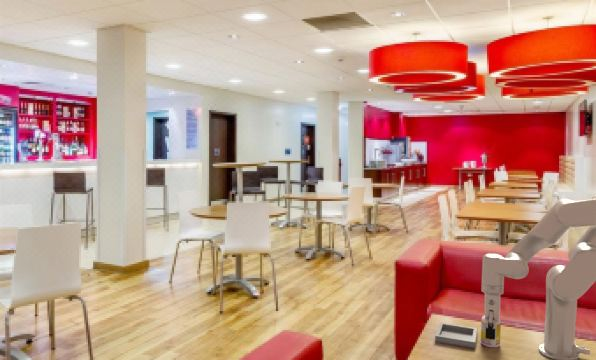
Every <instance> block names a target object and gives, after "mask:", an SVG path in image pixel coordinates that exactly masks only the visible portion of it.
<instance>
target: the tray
mask: <svg viewBox="0 0 596 360" xmlns="http://www.w3.org/2000/svg"><path fill="white" fill-rule="evenodd" d="M434 337H435V339H434V343H437V344H444V345H450V346H456V347H461V348H467V349H472V350H473V349H476V345H477V344H476V343H477V338H478V327H471V326H465V325H459V324H452V323H446V322H439V325H438V328H437V330H436V333H435V336H434Z"/></svg>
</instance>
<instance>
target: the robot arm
mask: <svg viewBox="0 0 596 360" xmlns="http://www.w3.org/2000/svg"><path fill="white" fill-rule="evenodd" d="M576 227H577V228H579V227H588V228H587V229H586V231H585V233H583V235H582V236H581V237H580V238H579V239H578V240H577V242H575V244H574V245H572V247H571V248H570V249H569V251H568V253H567V257H568V261H569V262H567V264H566V265H564V264H557V265H554V266H552V267H551V268H549V270H548V272H547V273H546V278H545V289H546V291H545V316H544V318H545V319H544V335H543V337H544V338H543V343H541V344H539V346H538V351H539V352H540V353H541V354H542V355H543V356H545V357H547V358H549V359H552V360H579V359H580V354H583V355H587V356H589V355H591V349H590V348H586V346H584V345H578V344H576V323H577V311H578V299H580V298H581V297H582V296H583V295H584V294H585V293H587V291H588V290H589V289H590V288H591V286H593V285H594V284H595V283H596V194H594V195H593V196H592V198H590V199H586V200H585V199H584V200H573V199H570V198H561V199H559V200H557V202H555V203H554V204H553V205H552V207H551V208H550V209H548V211H547V212H546V213H545V214H544V216H543V217H542V218H541V219H540V220H539V221H538V222H537V223H536V224H535V225H534V227H532V228H531V230H529V231H528V232H527V233H526V234H525V235H524V236H523V237H521V238H520V239H519V240H518V241H517V242H516V243H515V245H514V246H513V247H511V249H510V250H509V251H508V252H507V254H506V255H505V257H504V255H501V254H499V253H486V254H484V255H483V256H482V263H481V265H482V268H481V292H483V294H484V312H485V313H484V316H485V319H486V320H487V327H486V336H485V338H486V339H493V340H495V321H497V322H499V318H500V315H501V295H504V286H505V277H506V278H510V279H514V280H520V279H524V278H526V277H527V276H528V274H529V272H530V271H529V270H530V269H529V265H528V264H529V262H530V261H531V260H532V259H533V258H534V257H535V256H536V255H537V254H538V253H539V252H541V251H542V250H544V249H546V248H550V247H552V246H553V245H555V244H556V243H558V241H559V240H560V239H561V238H562V236H563V235H564V234H565V233H566V232H567V231H568V230H569V229H570V228H576ZM489 310H490V311H489ZM488 318H489V319H488ZM493 319H494V320H493ZM500 319H501V318H500ZM488 321H489V323H488Z"/></svg>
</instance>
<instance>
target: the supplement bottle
mask: <svg viewBox="0 0 596 360" xmlns="http://www.w3.org/2000/svg"><path fill="white" fill-rule="evenodd" d="M489 311H490V310H489ZM484 314H485V311H484ZM488 319H489V318H488ZM493 320H494V319H493ZM488 323H489V321H488ZM501 324H502V320H501V318H499V322H497V321H495V340H493V339H486V338H485V336H486V327H487V320H486V319H485V315H482V317H481V324H480V325H481V326H480V327H481V328H480V343H481V344H482V345H483V346H485V347H488V348H499V347H500V346H501V331H502V330H501V328H502V327H501V326H502V325H501Z"/></svg>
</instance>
